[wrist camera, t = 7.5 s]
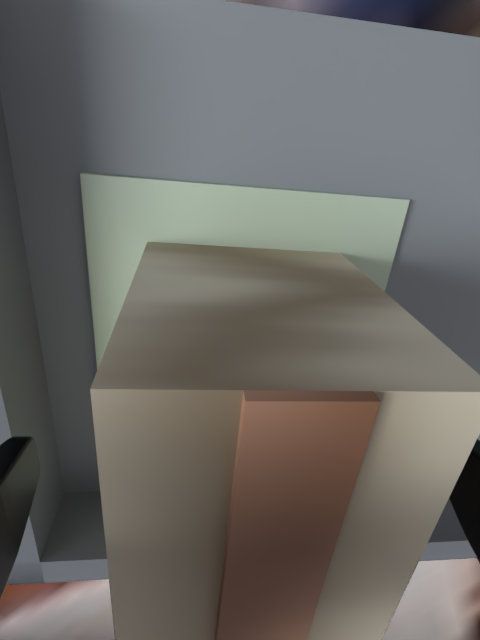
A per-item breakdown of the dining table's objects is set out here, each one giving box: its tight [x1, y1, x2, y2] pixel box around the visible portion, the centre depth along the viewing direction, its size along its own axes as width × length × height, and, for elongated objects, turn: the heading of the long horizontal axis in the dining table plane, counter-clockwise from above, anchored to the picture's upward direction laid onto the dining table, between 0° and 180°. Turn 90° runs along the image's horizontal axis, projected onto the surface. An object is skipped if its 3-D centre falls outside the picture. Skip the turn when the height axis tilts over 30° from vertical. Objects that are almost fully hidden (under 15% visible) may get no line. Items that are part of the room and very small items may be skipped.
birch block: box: [90, 242, 480, 640], centre depth 9 cm, size 5×7×6 cm
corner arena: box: [0, 0, 480, 585], centre depth 11 cm, size 15×17×3 cm
